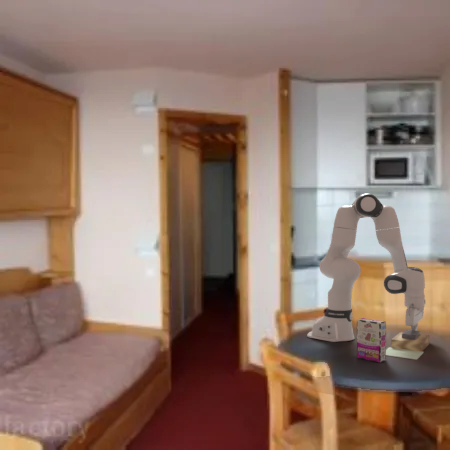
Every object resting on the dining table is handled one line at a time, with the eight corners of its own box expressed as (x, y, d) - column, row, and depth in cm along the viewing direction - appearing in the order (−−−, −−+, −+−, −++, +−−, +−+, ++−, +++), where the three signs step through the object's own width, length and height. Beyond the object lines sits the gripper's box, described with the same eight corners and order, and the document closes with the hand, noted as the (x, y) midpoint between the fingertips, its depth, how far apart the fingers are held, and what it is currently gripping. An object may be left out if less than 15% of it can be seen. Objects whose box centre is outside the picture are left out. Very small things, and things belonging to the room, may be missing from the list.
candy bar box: (386, 360, 228) (386, 321, 227) (380, 363, 224) (380, 323, 224) (362, 355, 236) (362, 317, 235) (356, 357, 232) (356, 319, 231)
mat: (380, 354, 236) (380, 354, 236) (389, 347, 247) (389, 347, 247) (416, 359, 229) (416, 359, 229) (423, 352, 240) (423, 351, 240)
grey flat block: (401, 338, 249) (401, 333, 249) (406, 334, 256) (406, 329, 256) (415, 339, 246) (415, 335, 246) (420, 335, 253) (420, 331, 253)
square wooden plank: (391, 348, 247) (391, 339, 247) (400, 340, 261) (400, 332, 260) (421, 352, 240) (421, 343, 240) (429, 344, 254) (429, 335, 254)
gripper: (416, 306, 245) (416, 337, 246) (426, 299, 263) (425, 328, 263) (402, 305, 249) (401, 335, 249) (412, 298, 266) (412, 327, 267)
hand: (414, 332), depth 256 cm, fingers closed
